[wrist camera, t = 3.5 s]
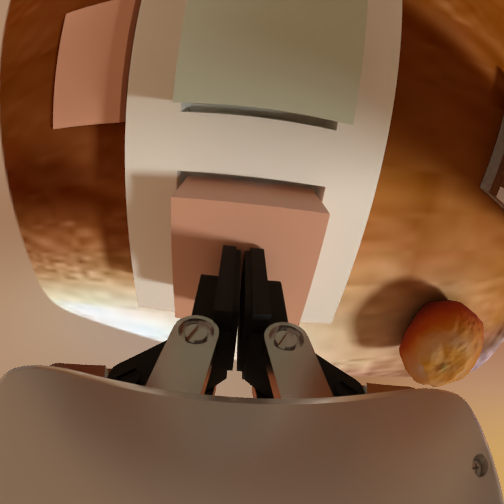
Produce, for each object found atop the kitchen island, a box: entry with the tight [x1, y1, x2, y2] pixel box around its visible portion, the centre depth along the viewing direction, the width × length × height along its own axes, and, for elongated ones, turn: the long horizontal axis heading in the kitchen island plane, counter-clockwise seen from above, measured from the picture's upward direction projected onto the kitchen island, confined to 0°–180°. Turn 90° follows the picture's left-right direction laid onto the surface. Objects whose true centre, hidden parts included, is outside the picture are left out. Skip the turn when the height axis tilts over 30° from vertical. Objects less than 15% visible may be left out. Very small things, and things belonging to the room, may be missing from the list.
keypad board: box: [125, 0, 402, 324], centre depth 10 cm, size 29×12×3 cm, turn 173°
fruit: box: [399, 300, 484, 387], centre depth 19 cm, size 8×8×8 cm
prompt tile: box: [53, 0, 141, 129], centre depth 11 cm, size 8×5×1 cm, turn 173°
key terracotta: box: [171, 176, 330, 326], centre depth 13 cm, size 6×6×3 cm
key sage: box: [173, 0, 368, 125], centre depth 8 cm, size 6×6×3 cm
